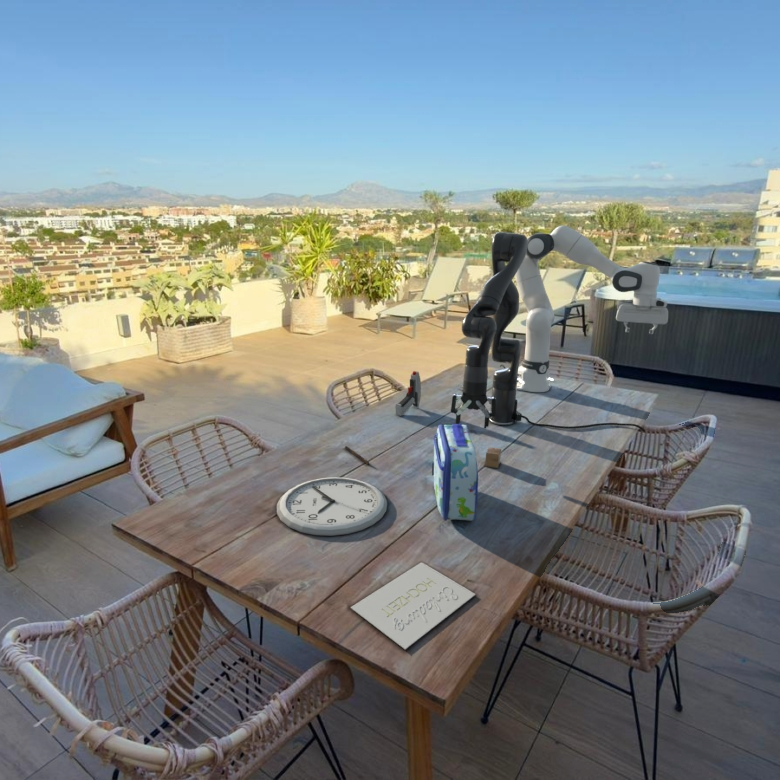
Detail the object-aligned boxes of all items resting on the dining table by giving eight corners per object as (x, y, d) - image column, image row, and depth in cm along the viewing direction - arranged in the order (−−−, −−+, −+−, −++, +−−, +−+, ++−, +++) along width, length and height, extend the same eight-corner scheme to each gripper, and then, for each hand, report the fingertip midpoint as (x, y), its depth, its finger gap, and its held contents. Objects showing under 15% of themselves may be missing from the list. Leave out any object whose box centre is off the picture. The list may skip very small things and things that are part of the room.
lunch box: (430, 480, 157) (433, 415, 151) (465, 481, 157) (470, 415, 151) (436, 527, 133) (440, 452, 126) (478, 528, 133) (484, 453, 126)
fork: (470, 397, 235) (470, 393, 235) (457, 387, 250) (457, 383, 249) (475, 396, 236) (476, 392, 236) (462, 386, 251) (462, 382, 250)
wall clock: (392, 527, 129) (268, 531, 127) (391, 533, 130) (269, 537, 127) (383, 473, 158) (282, 475, 155) (383, 478, 158) (282, 480, 156)
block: (487, 460, 172) (488, 447, 171) (500, 462, 171) (501, 448, 169) (485, 466, 168) (486, 452, 166) (497, 468, 167) (498, 454, 165)
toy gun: (394, 379, 206) (416, 369, 217) (395, 417, 212) (416, 405, 223) (399, 380, 205) (420, 370, 216) (400, 418, 211) (421, 406, 222)
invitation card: (421, 561, 119) (475, 593, 109) (421, 562, 119) (475, 594, 109) (350, 606, 104) (405, 648, 94) (350, 608, 104) (405, 649, 94)
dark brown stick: (344, 448, 179) (344, 445, 179) (346, 448, 179) (346, 445, 179) (367, 464, 167) (367, 462, 167) (368, 464, 167) (368, 461, 167)
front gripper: (452, 380, 164) (449, 428, 169) (498, 383, 161) (494, 432, 166) (453, 374, 171) (451, 420, 176) (498, 377, 168) (494, 424, 173)
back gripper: (618, 300, 223) (613, 332, 227) (671, 303, 216) (665, 336, 220) (617, 298, 229) (613, 329, 233) (669, 301, 222) (663, 333, 226)
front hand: (472, 426), depth 171 cm, fingers open, 8 cm apart
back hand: (639, 332), depth 227 cm, fingers open, 8 cm apart
